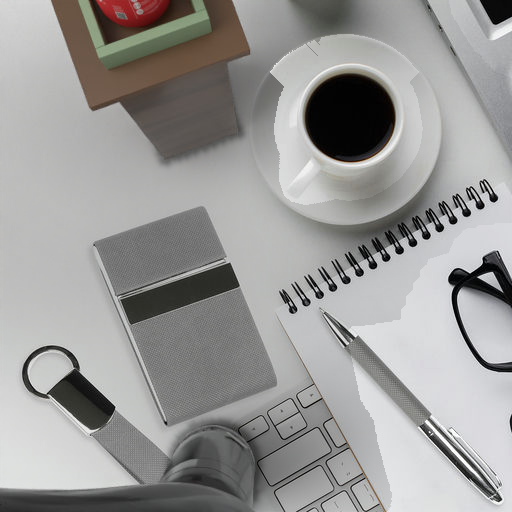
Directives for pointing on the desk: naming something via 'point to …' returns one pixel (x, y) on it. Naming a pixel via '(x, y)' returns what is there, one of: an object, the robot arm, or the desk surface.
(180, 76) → the can holder
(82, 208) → the desk surface
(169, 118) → the stand column
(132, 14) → the beverage can
